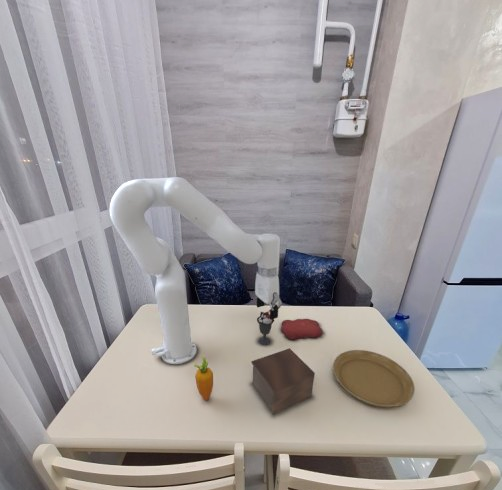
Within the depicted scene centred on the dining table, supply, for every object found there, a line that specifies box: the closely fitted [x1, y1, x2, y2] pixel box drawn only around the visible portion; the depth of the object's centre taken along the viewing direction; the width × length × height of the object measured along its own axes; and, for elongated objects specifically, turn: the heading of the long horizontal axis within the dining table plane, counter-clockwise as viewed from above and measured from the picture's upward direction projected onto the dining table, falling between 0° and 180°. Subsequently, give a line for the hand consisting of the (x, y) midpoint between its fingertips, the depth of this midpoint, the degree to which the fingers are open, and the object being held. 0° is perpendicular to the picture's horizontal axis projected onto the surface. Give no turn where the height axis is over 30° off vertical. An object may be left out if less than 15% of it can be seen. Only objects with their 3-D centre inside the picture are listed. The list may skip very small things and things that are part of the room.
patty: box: [280, 318, 324, 341], centre depth 112 cm, size 18×14×2 cm
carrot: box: [193, 357, 214, 402], centre depth 75 cm, size 5×5×15 cm
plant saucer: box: [332, 349, 416, 409], centre depth 85 cm, size 24×24×3 cm
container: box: [252, 365, 316, 415], centre depth 80 cm, size 14×13×9 cm
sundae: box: [256, 309, 275, 346], centre depth 101 cm, size 7×7×15 cm
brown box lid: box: [250, 347, 316, 392], centre depth 78 cm, size 14×13×1 cm
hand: (266, 312), depth 99 cm, fingers open, 9 cm apart
